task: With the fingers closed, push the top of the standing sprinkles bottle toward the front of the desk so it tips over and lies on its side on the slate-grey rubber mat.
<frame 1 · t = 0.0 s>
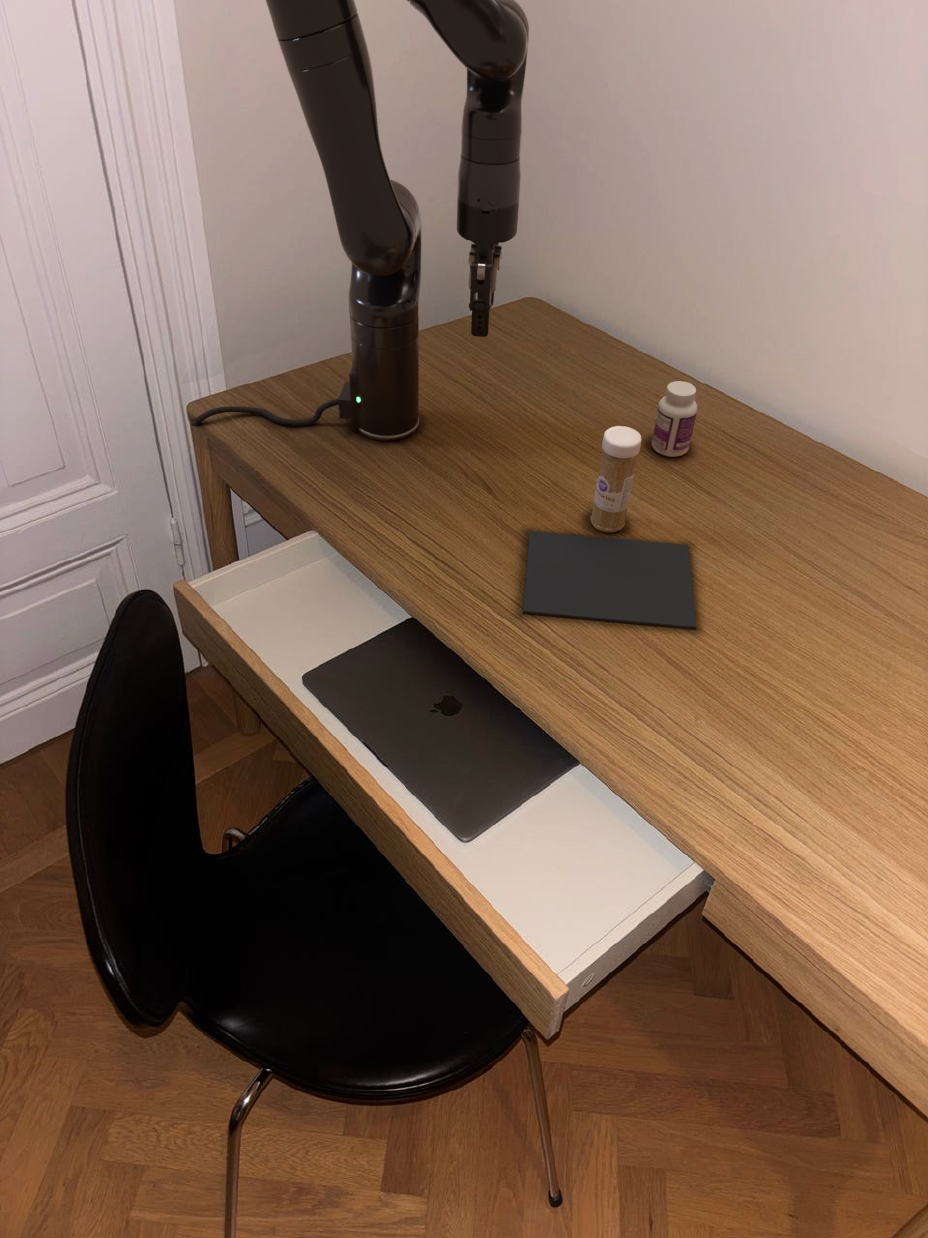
hand: (482, 320, 126), 17 cm above the table, tool pointing down, fingers open, 8 cm apart
sprinkles bottle: (607, 524, 123), on the table
pill bottle: (669, 448, 136), on the table
mat: (608, 578, 115), on the table
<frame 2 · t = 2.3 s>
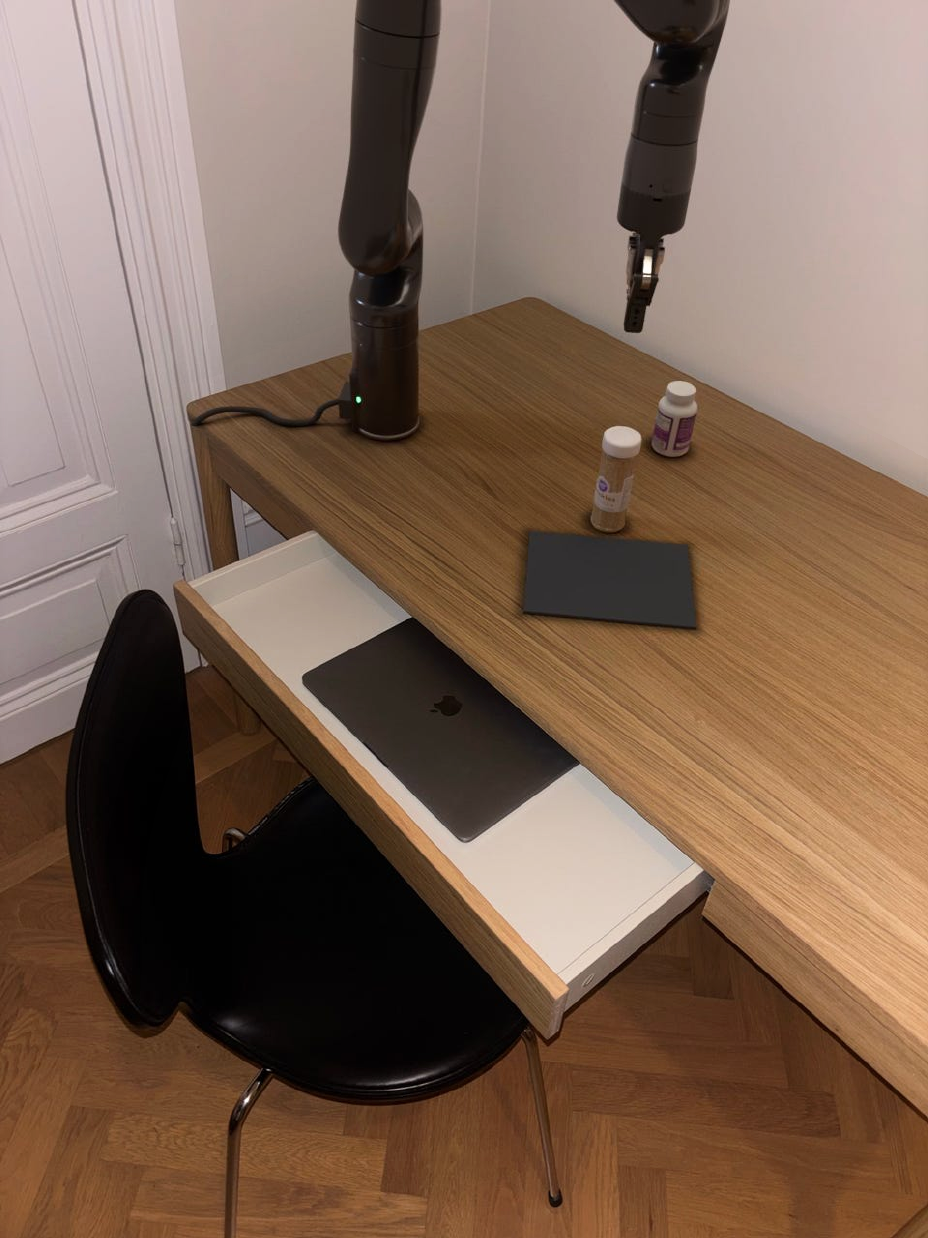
hand: (632, 329, 114), 22 cm above the table, tool pointing down, fingers closed
nothing on the table moved.
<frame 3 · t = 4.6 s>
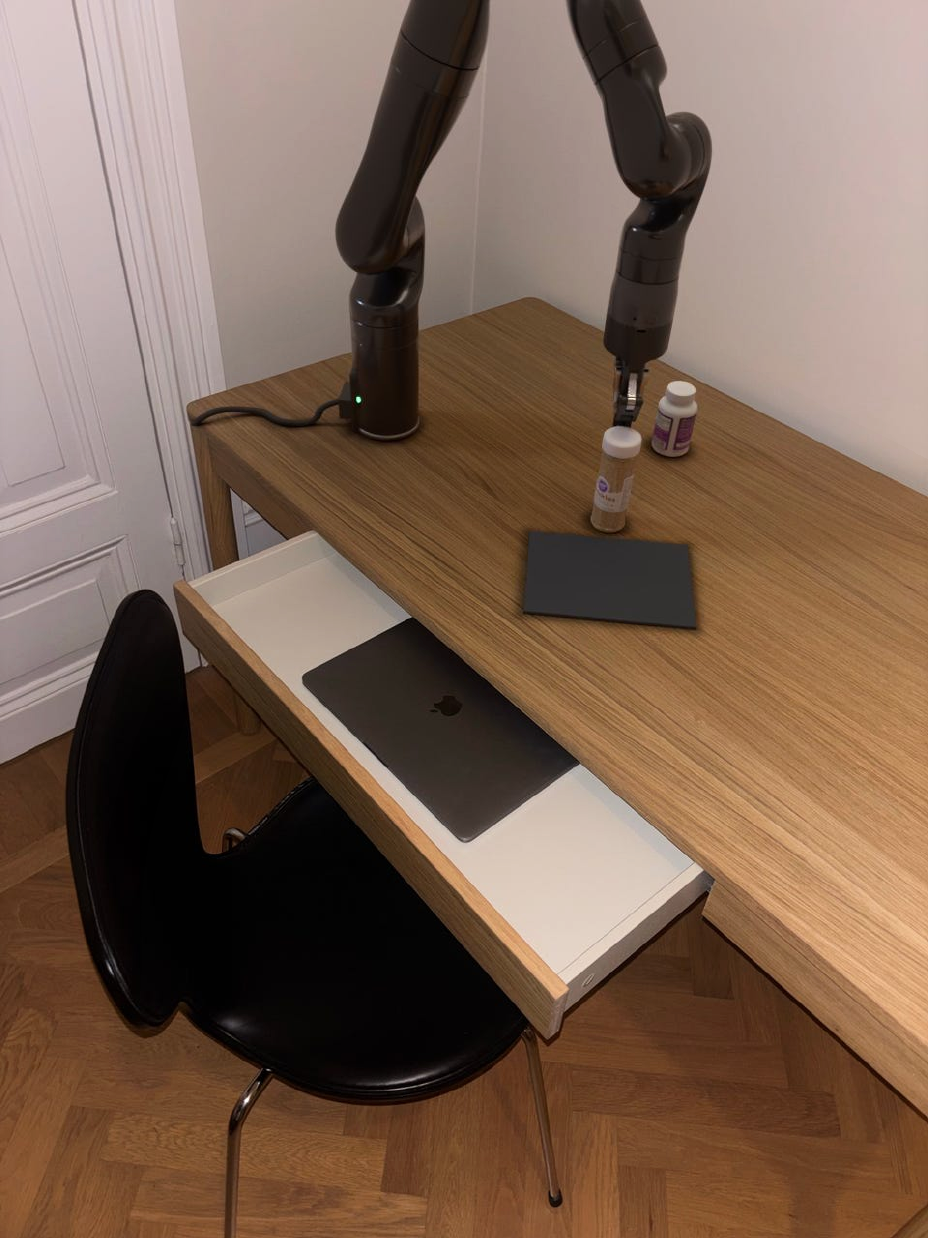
hand: (619, 439, 120), 10 cm above the table, tool pointing down, fingers closed
sprinkles bottle: (607, 524, 123), on the table, touching gripper
everything else where it was.
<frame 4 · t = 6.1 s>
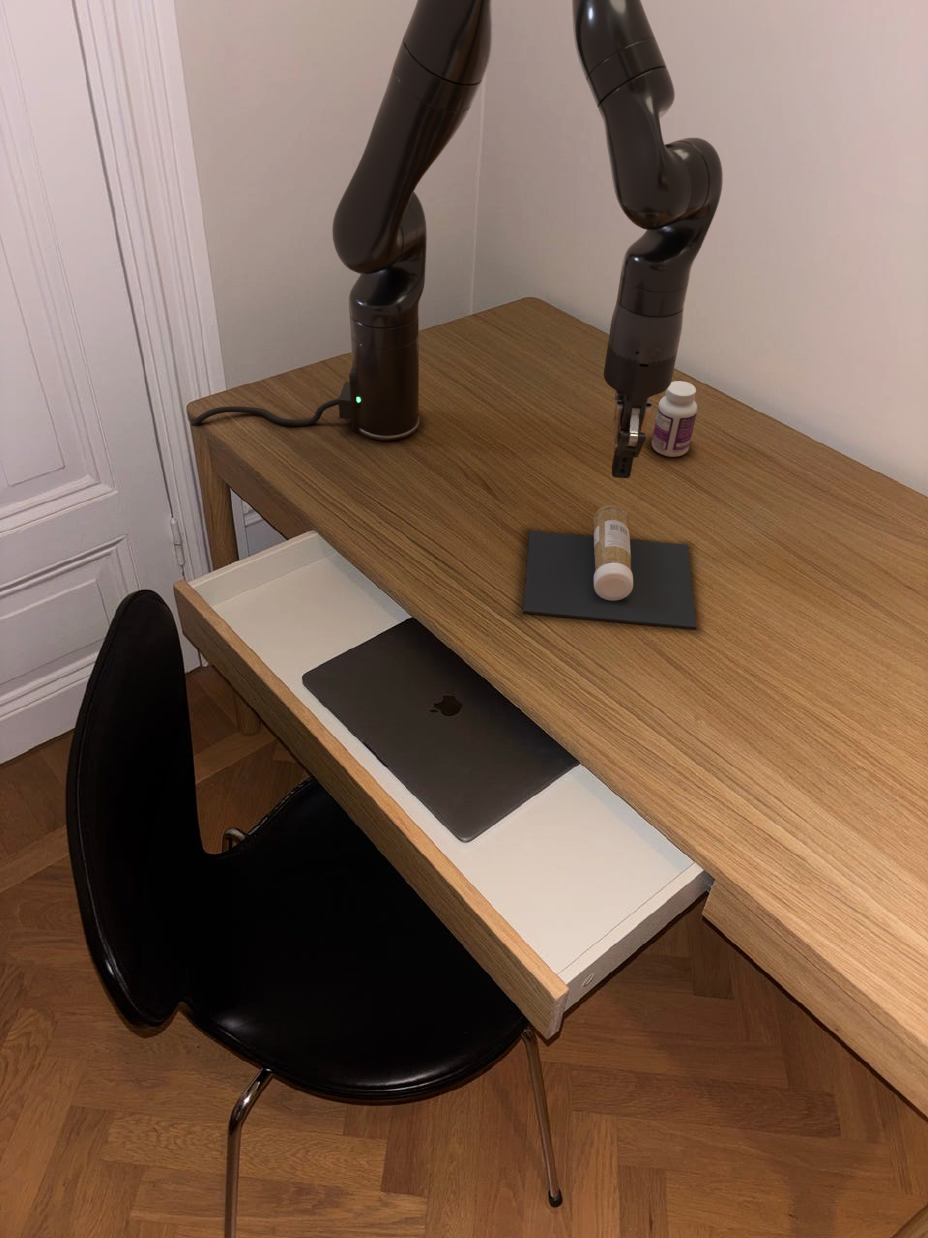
hand: (620, 474, 114), 10 cm above the table, tool pointing down, fingers closed
sprinkles bottle: (611, 517, 120), point 2 cm above the table, touching mat
everything else where it was.
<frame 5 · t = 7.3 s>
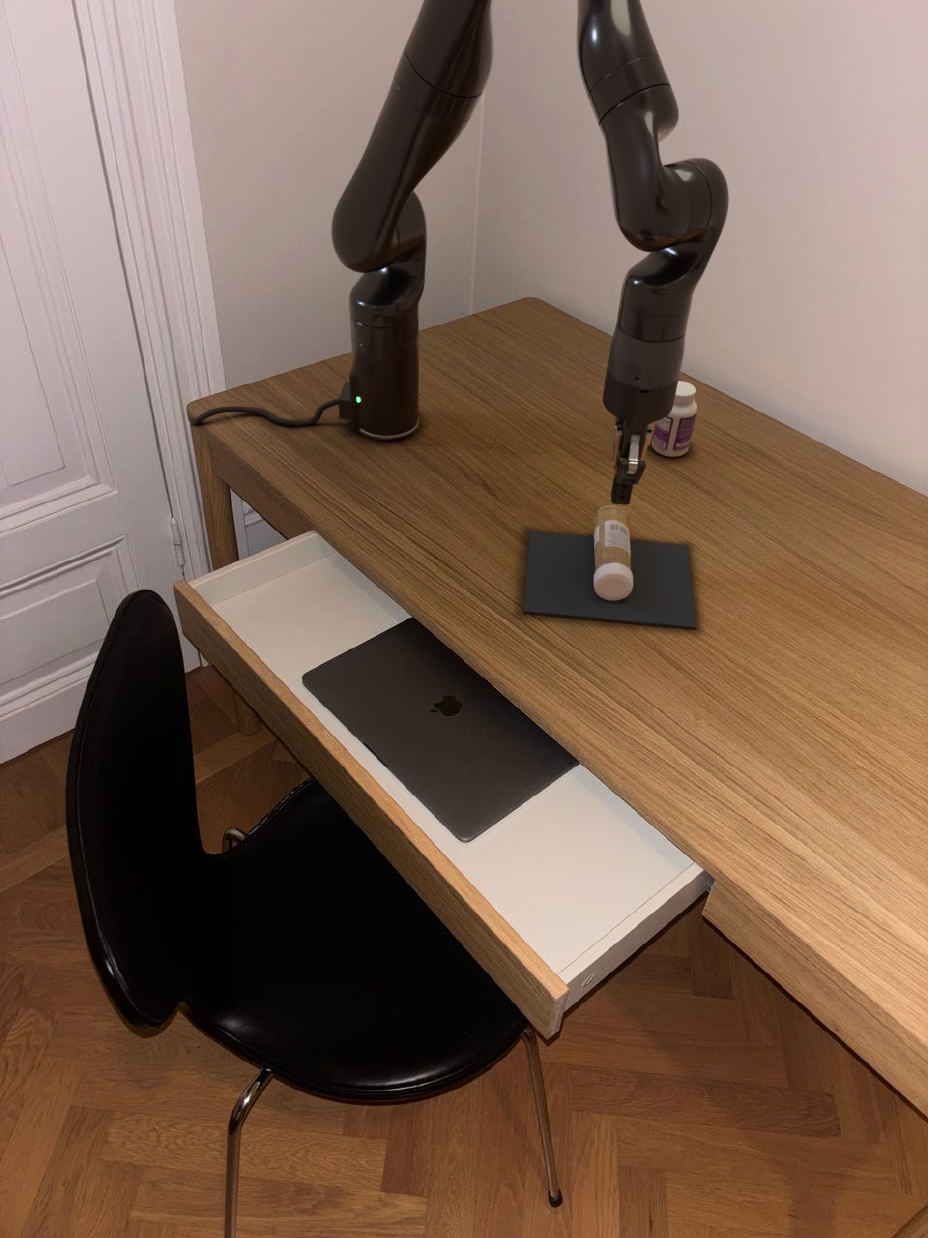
hand: (619, 500, 111), 10 cm above the table, tool pointing down, fingers closed
nothing on the table moved.
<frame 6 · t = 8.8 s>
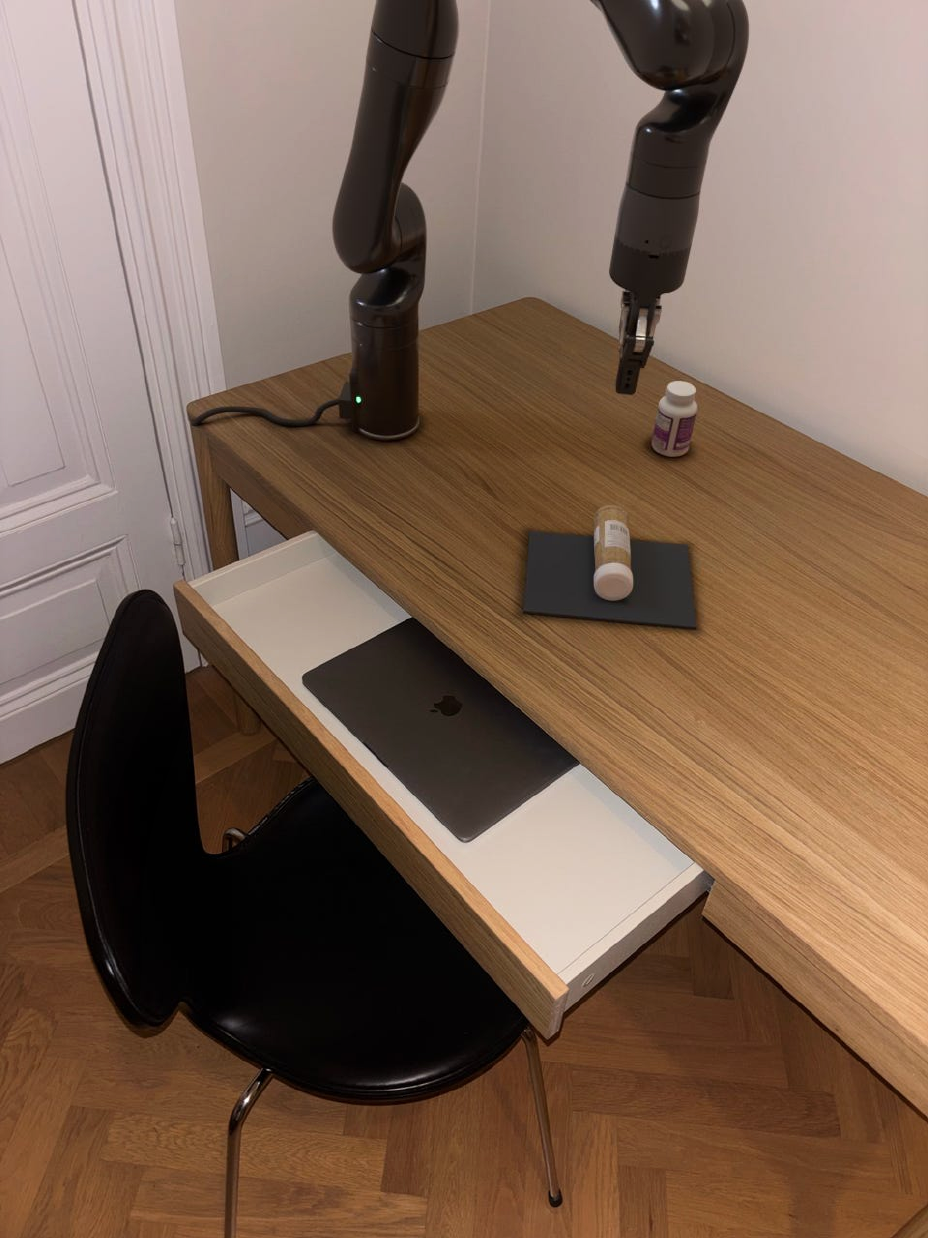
hand: (624, 390, 104), 22 cm above the table, tool pointing down, fingers closed
nothing on the table moved.
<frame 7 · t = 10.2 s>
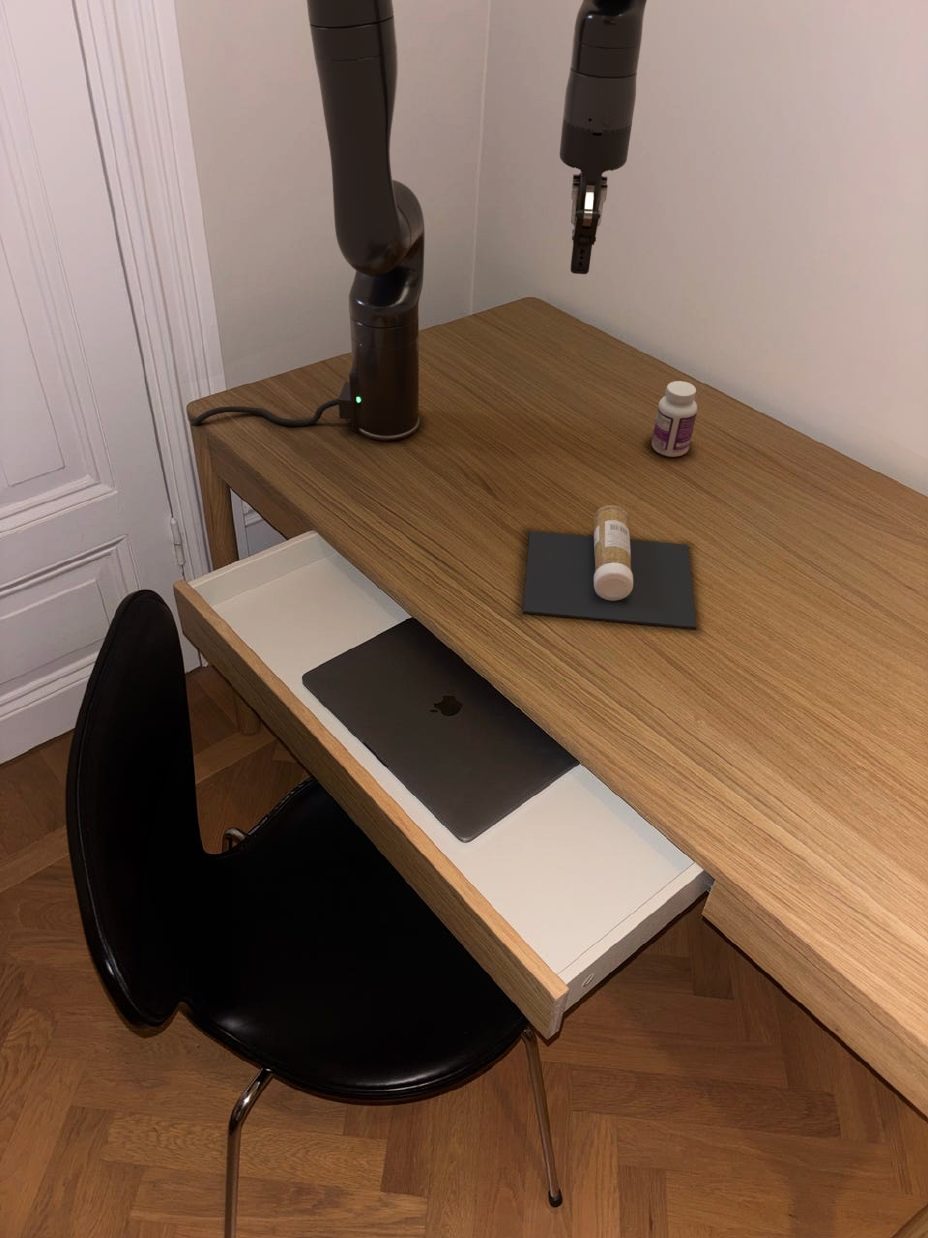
hand: (579, 271, 115), 27 cm above the table, tool pointing down, fingers closed
nothing on the table moved.
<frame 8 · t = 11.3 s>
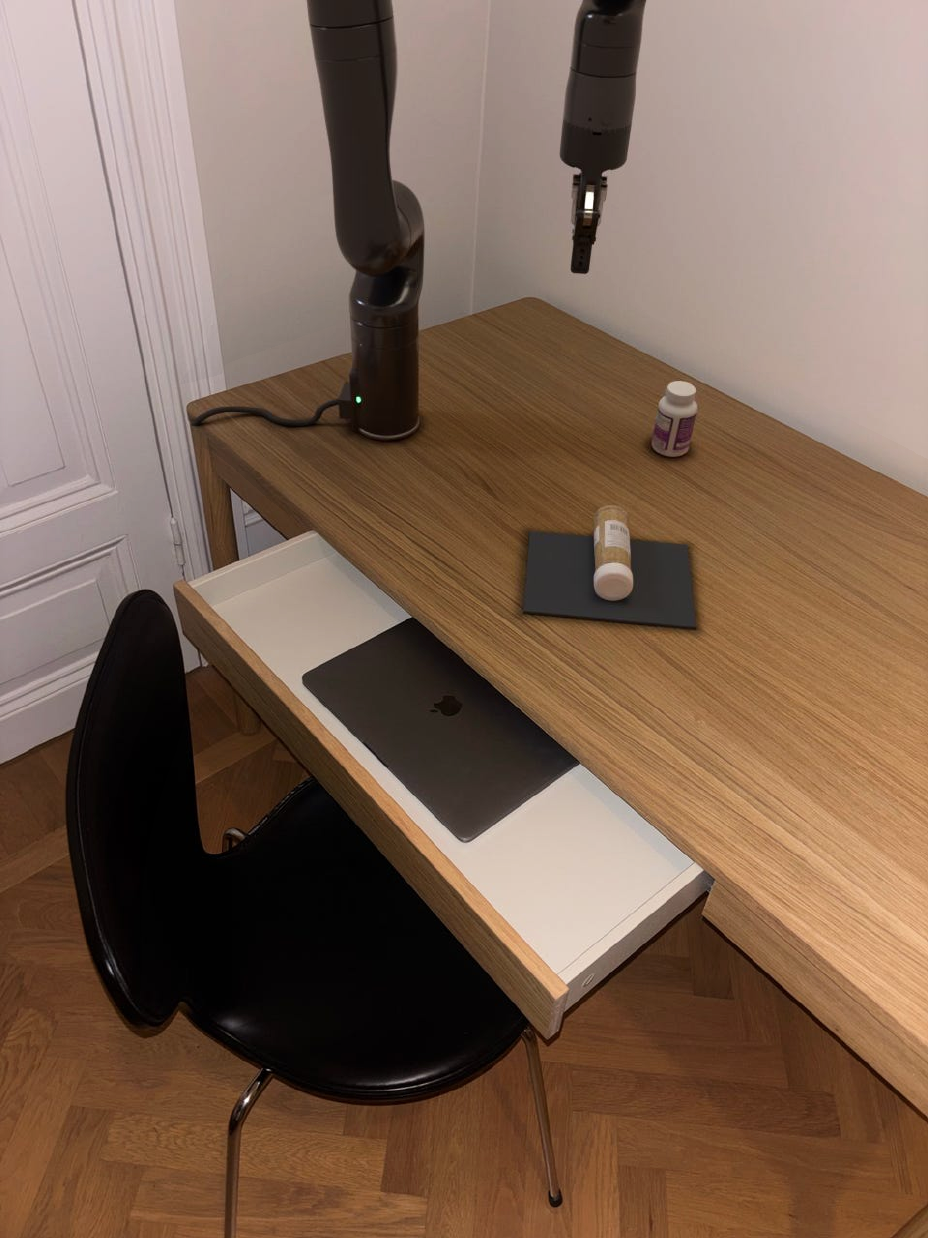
hand: (579, 270, 115), 27 cm above the table, tool pointing down, fingers closed
nothing on the table moved.
at the end: sprinkles bottle tilted 89°; sprinkles bottle touching mat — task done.
